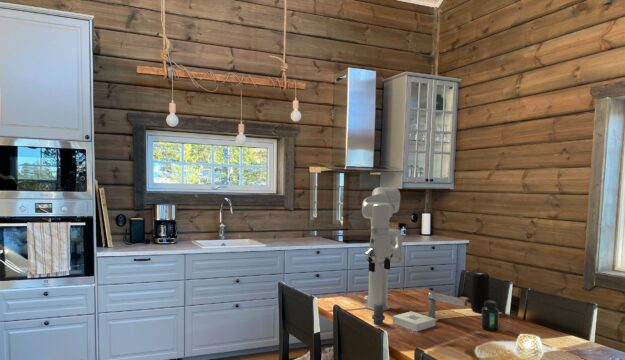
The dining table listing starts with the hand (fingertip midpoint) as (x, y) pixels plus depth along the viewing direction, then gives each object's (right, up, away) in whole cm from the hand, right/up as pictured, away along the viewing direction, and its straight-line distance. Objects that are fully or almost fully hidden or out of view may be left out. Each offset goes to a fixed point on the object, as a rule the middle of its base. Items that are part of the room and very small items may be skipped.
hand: (379, 270), depth 182 cm
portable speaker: (+54, -26, +25) cm, 65 cm away
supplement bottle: (+48, -26, -1) cm, 55 cm away
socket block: (+18, -25, +2) cm, 31 cm away
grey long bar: (+31, -15, +2) cm, 34 cm away
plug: (-1, -24, -1) cm, 24 cm away
